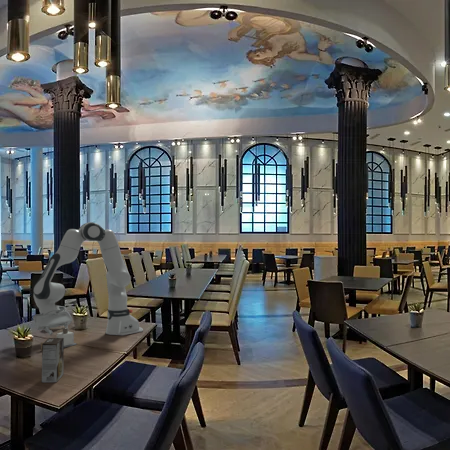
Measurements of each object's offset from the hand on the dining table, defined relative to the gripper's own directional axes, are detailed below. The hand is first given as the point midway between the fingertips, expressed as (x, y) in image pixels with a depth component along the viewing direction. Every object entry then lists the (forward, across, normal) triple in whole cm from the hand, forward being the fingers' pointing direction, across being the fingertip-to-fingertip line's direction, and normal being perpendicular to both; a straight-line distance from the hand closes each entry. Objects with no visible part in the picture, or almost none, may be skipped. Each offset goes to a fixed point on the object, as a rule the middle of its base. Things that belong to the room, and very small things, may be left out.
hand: (59, 332), depth 226 cm
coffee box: (+37, -32, -28) cm, 56 cm away
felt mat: (+8, 0, 0) cm, 8 cm away
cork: (+8, -12, 0) cm, 15 cm away
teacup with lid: (-19, +20, +28) cm, 39 cm away
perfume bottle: (+8, 0, 0) cm, 8 cm away
